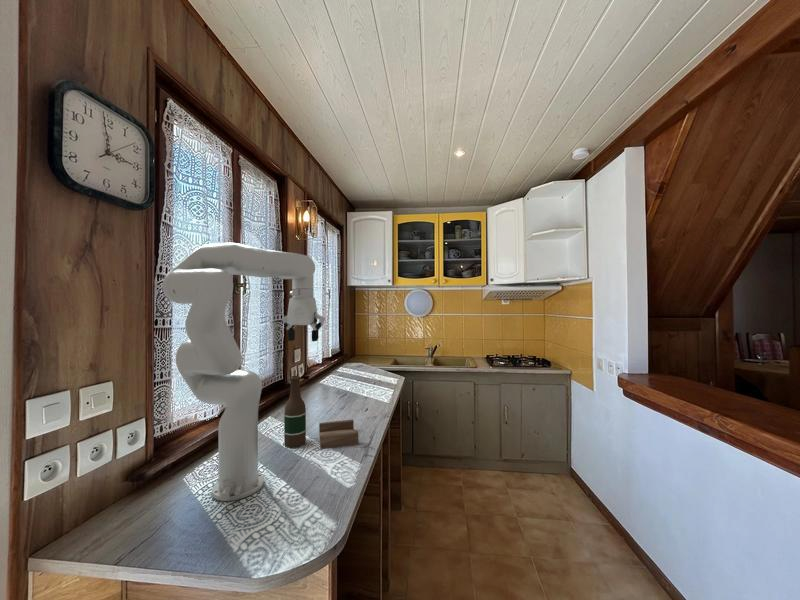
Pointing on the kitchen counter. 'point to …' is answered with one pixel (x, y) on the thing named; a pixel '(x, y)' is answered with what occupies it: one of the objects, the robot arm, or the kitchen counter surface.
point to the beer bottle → (295, 416)
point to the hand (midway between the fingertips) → (303, 340)
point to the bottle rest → (337, 434)
